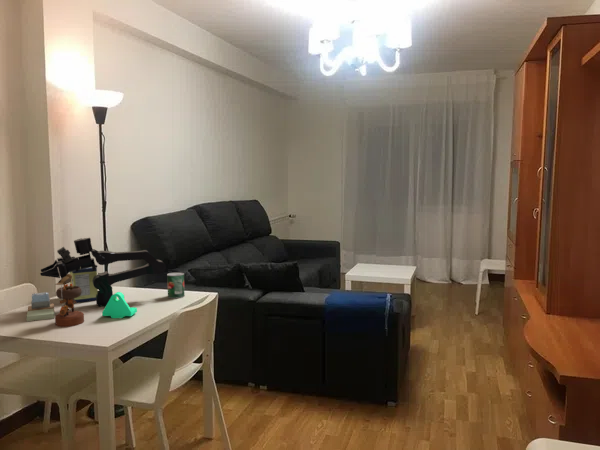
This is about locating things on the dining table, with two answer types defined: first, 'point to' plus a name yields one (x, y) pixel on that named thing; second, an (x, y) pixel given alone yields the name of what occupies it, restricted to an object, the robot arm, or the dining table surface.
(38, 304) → the housing
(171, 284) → the canned tomato
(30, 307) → the walnut stand
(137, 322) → the dining table surface
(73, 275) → the protein box
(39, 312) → the green stand
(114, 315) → the camera mount
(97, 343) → the dining table surface
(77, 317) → the brown bird figurine
